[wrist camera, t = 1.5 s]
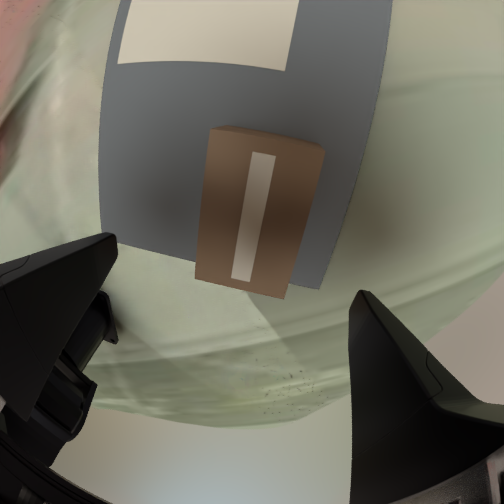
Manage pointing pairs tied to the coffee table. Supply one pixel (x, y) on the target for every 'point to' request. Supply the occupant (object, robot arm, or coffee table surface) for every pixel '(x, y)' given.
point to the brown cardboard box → (254, 208)
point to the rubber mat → (233, 108)
